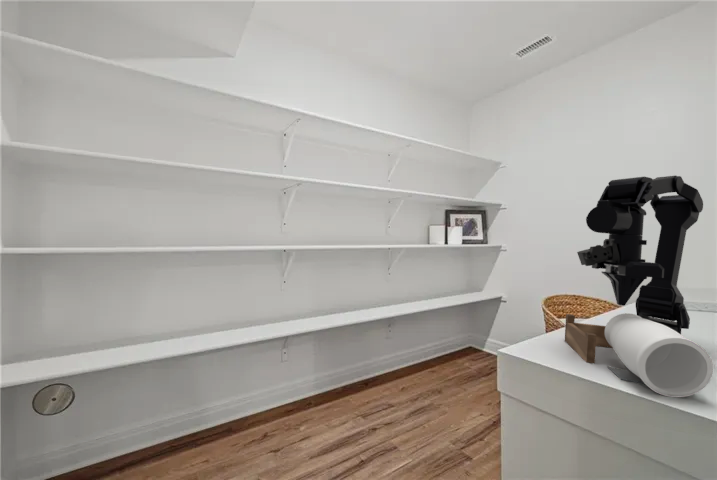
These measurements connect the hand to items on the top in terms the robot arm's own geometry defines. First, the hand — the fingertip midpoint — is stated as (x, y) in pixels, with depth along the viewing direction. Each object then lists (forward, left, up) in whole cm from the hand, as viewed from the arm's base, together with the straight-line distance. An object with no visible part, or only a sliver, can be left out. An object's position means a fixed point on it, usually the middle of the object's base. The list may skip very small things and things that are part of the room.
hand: (620, 305), depth 71 cm
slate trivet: (0, +10, -12) cm, 16 cm away
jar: (0, +3, -5) cm, 6 cm away
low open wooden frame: (0, -2, -12) cm, 12 cm away
